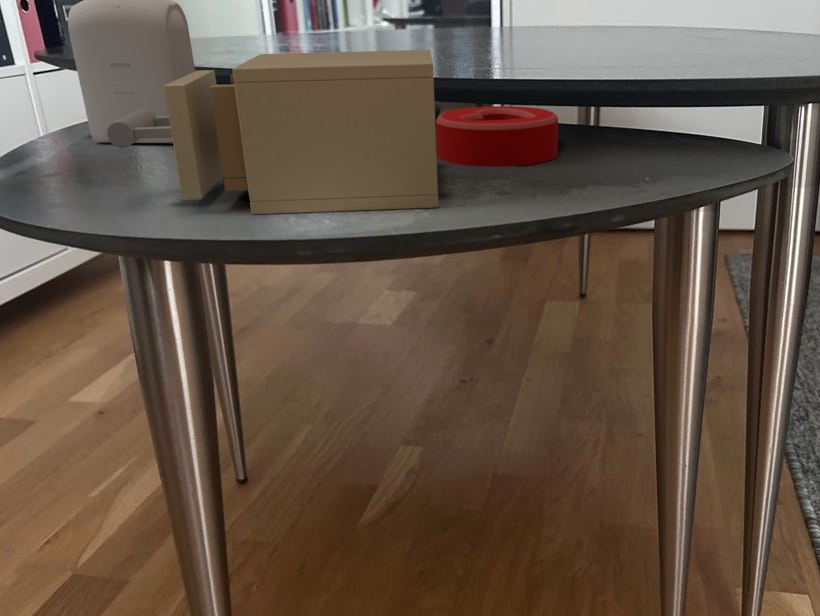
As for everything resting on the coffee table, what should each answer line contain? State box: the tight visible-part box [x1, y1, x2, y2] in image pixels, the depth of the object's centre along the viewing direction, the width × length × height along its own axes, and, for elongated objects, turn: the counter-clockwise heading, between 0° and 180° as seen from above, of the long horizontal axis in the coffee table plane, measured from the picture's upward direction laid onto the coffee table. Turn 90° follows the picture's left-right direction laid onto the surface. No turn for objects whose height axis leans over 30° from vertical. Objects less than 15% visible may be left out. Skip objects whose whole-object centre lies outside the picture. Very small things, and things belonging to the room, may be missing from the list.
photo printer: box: [67, 0, 196, 144], centre depth 74 cm, size 10×4×12 cm, turn 78°
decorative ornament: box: [435, 105, 559, 167], centre depth 68 cm, size 10×10×3 cm
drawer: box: [107, 69, 248, 201], centre depth 55 cm, size 15×8×7 cm, turn 94°
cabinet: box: [232, 49, 440, 215], centre depth 55 cm, size 12×10×9 cm
